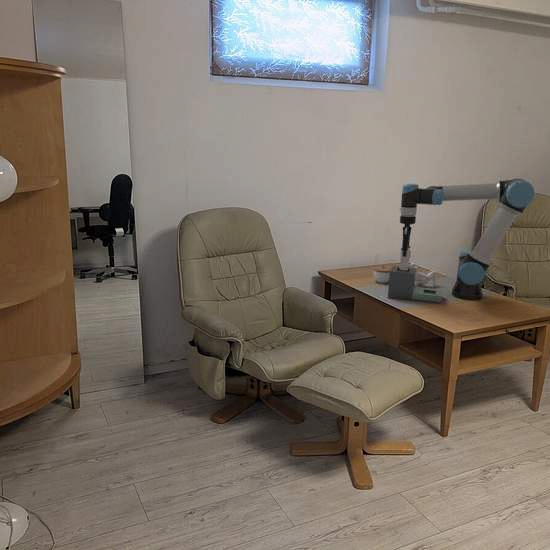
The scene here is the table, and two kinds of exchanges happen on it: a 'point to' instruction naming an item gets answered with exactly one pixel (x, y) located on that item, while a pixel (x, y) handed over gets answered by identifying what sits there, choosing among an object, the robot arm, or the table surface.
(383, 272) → the lidded jar
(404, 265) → the plug
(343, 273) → the table surface
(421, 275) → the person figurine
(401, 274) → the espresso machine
